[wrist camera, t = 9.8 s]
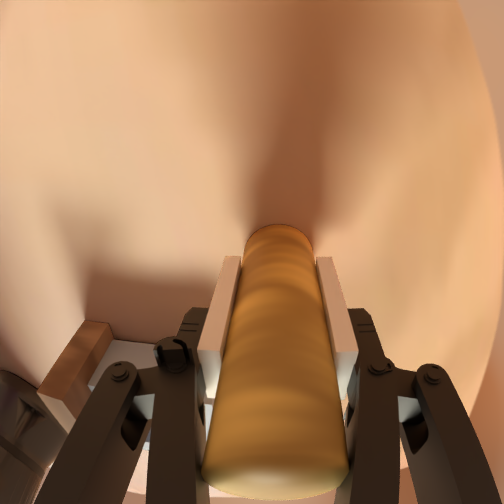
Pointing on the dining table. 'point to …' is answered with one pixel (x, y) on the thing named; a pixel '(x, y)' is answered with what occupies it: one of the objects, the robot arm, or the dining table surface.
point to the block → (141, 359)
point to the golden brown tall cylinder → (277, 380)
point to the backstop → (75, 372)
